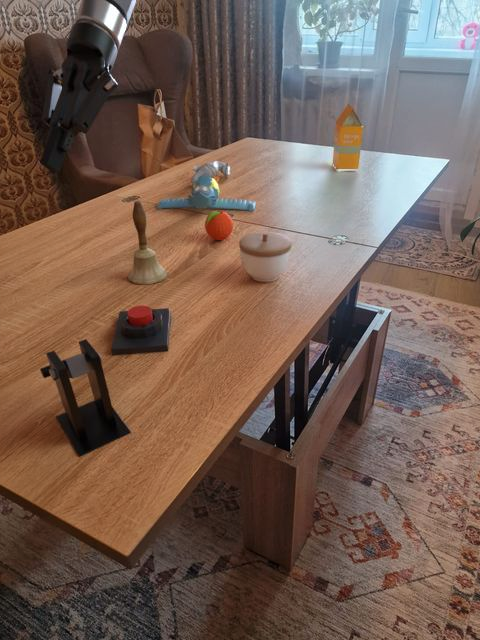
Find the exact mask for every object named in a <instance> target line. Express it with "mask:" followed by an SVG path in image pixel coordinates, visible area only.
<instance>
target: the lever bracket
mask: <svg viewBox="0 0 480 640" xmlns="http://www.w3.org/2000/svg"><path fill="white" fill-rule="evenodd" d="M78 346H79V349H80V352H81V353H80V354H84V357H85V359H86V362H87V364H88V367H89V369H90V372H89V373H87V374H86V375H87V378H88V381H89V385H90V389H91V392H92V396H93V400H91V401H90V402H87V403H84V404H82V405H78V402H77V398H76V396H75V392H74V389H73V385H72V382H71V378H69V375H68V372H67V369H66V367H65V365H64V364H63V362H62V359H61V358H60V357H59V355H58V353H57V352H56V351H55V350H52V351H48V352H46V353H45V355H46V357H47V361H48V363H49V365H50V367H51V369H50V370H49V372H50V375H51V376H50V377H51V379H52V381H54V382H55V385H56V389H57V390H58V394H59V398H60V400H61V403H62V406H63V409H64V412H63V413H61V414H58V415H56V416H55V418H56V420H57V422H58V424H59V425H60V427H61V429H62V431H63V432H64V433H65V435H66V437H67V439H68V440H69V443H70V444H71V446H72V448H73V449H74V451H75V453H76V454H77V456H78V457H79V458H81V457H83V456H85V455H87V454H89V453H92V452H94V451H96V450H98V449H100V448H102V447H105V446H106V445H109V444H110V443H113V442H115V441H117V440H119V439H122V438H124V437H125V436H128V435H130V434H131V433H132V431H131V430H130V428H129V427H128V426H127V424H126V423H125V421H124V420H123V419H122V418H121V416H120V415H119V413H118V412H117V411H116V409H115V408H114V407H113V405H112V399H111V397H110V393H109V392H110V391H109V388H108V385H107V379H106V377H105V371H104V369H103V365H102V361H103V360H102V357H101V354H100V353H99V352H98V351H97V350H96V349H95V348H94V346H93V345H92V344H91V343H90V342H89V341H88V339H82V340H79V341H78Z"/></svg>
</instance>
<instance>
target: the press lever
mask: <svg viewBox="0 0 480 640" xmlns="http://www.w3.org/2000/svg"><path fill="white" fill-rule="evenodd" d="M61 361H62V362H63V364H64V365H65V367H66V369H67V372H68V375H69V378H70V379H76V378H79V377H81V376H85V375H87V373H89V372H90V369H89V367H88V364H87V362H86V359H85V357H84V354H82V353H77V354H75V355H72V356H68V357H67V358H63V359H61ZM50 369H51V367H50V364H49V365H46V366H44V367H41V368H40V369H39V371H40V373H41V376H42V378H43V379H46V378H50V377H51V375H50V372H49V370H50Z"/></svg>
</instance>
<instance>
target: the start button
mask: <svg viewBox="0 0 480 640" xmlns="http://www.w3.org/2000/svg"><path fill="white" fill-rule="evenodd" d="M151 309H152V308H151V307H150V306H148V305H136V306H132V307H130V308H129V309H128V310H127V311H128V312H127V315H128V320H129V323H130V324H131V325H134V326H140V325H146V324H148V323H150V322H152V321H153V316H152V310H151Z"/></svg>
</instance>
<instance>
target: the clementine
mask: <svg viewBox="0 0 480 640" xmlns="http://www.w3.org/2000/svg"><path fill="white" fill-rule="evenodd" d="M204 229H205V232H206V234H207V235H208V236H209V237H210V238H211V239H214V240H216V241H223V240H226V239H227V238H229V237H230V236H231V235H232V233H233V230H234V222H233V219H232V217H231V216H230V214H228V213H227V212H226V211H224V210H214V211H212V212H211V213H209V214H208V215H207V216H206V219H205V222H204Z"/></svg>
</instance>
